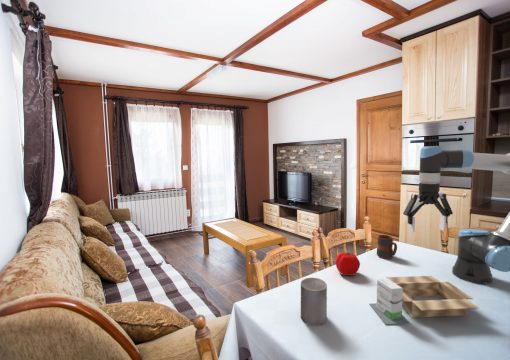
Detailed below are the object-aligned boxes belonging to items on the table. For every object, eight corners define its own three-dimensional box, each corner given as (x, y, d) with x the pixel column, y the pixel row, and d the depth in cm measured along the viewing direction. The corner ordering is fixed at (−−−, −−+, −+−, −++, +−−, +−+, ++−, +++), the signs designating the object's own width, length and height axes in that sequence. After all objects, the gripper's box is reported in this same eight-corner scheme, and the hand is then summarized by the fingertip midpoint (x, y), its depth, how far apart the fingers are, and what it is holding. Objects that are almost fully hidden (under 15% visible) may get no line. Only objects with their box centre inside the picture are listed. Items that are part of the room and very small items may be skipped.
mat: (391, 303, 110) (391, 302, 110) (410, 324, 97) (410, 322, 97) (369, 304, 110) (369, 303, 110) (385, 325, 97) (385, 324, 97)
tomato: (331, 274, 137) (331, 253, 136) (340, 266, 146) (340, 246, 145) (354, 281, 130) (355, 258, 128) (363, 272, 138) (363, 251, 137)
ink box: (402, 318, 100) (404, 287, 99) (391, 320, 99) (392, 289, 97) (386, 305, 108) (387, 277, 107) (375, 307, 107) (376, 279, 106)
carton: (437, 288, 121) (438, 275, 120) (486, 323, 97) (487, 307, 96) (379, 290, 120) (379, 277, 120) (413, 326, 96) (413, 310, 95)
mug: (390, 262, 149) (391, 242, 148) (373, 255, 160) (373, 235, 159) (401, 259, 153) (402, 239, 151) (383, 252, 164) (384, 233, 162)
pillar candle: (299, 310, 107) (298, 274, 106) (323, 309, 107) (323, 274, 105) (302, 326, 98) (302, 287, 96) (329, 326, 97) (330, 286, 96)
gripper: (451, 180, 119) (448, 227, 122) (395, 182, 119) (394, 229, 121) (464, 182, 112) (461, 232, 114) (405, 184, 111) (403, 234, 114)
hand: (427, 230), depth 118 cm, fingers open, 13 cm apart
